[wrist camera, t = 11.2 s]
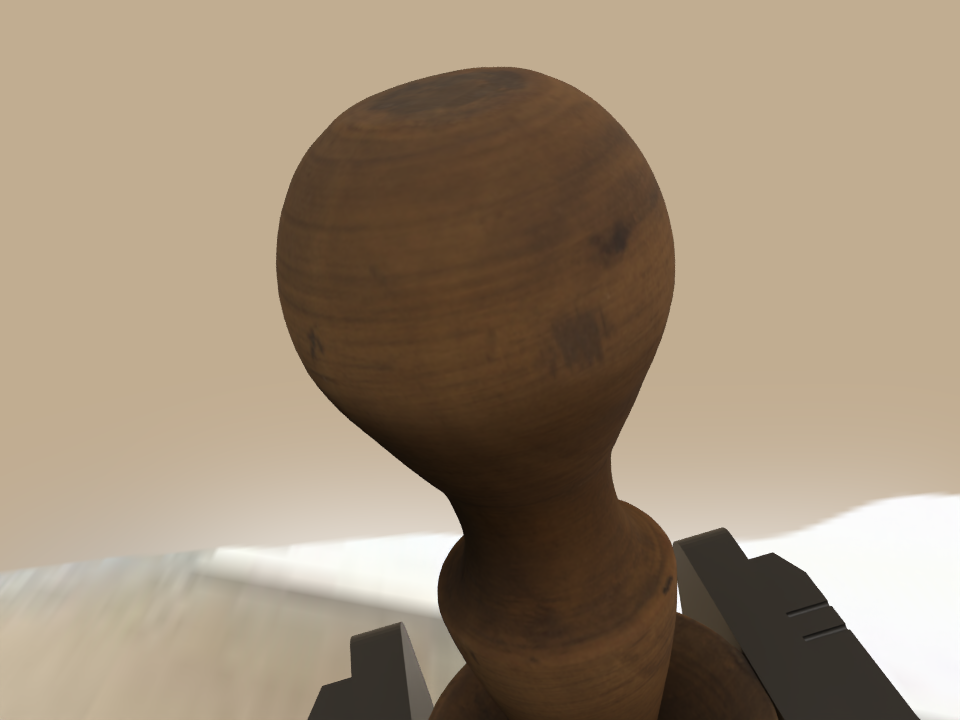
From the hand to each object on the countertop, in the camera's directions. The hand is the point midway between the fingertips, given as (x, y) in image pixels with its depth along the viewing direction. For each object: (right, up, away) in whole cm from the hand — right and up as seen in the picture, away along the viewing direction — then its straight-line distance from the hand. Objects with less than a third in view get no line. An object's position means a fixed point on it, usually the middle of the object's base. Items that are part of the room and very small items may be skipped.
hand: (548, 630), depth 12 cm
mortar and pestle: (+3, -10, +2) cm, 11 cm away
